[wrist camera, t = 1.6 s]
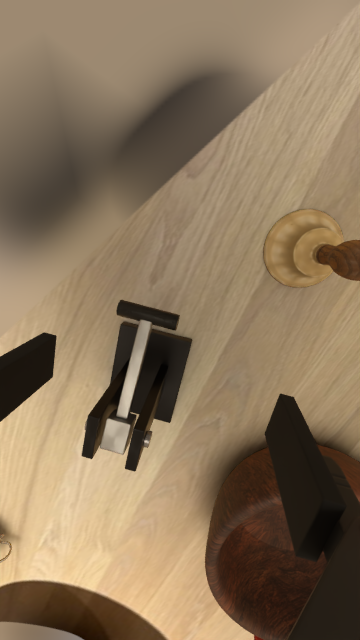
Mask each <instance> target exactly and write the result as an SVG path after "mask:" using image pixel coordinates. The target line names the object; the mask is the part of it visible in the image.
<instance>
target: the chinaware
mask: <svg viewBox="0 0 360 640" xmlns="http://www.w3.org/2000/svg"><path fill="white" fill-rule="evenodd" d="M3 536H4V534H0V539H2V538H3ZM0 543H3V544H8V545H9V546H10V551H9V553H8V555H7V556H6V557H5V558H3V559H2V560H0V563H1V562H3V561H4V560H6V559H7V558H8V556H9V555H10V553H11V550H12V545H11V543H10V542H7V541H5V542H2V541H0Z"/></svg>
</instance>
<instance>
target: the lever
mask: <svg viewBox="0 0 360 640" xmlns="http://www.w3.org/2000/svg"><path fill="white" fill-rule="evenodd" d="M117 315H119V316H122V317H126V318H130V319H134V320H137V321H140V322H139V326H138V330H137V334H136V338H135V342H134V346H133V350H132V354H131V358H130V362H129V366H128V369H127V373H126V377H125V381H124V385H123V389H122V393H121V397H120V401H119V405H118V409H115V410H114V411H113V412H112V413H111V414H110V416H109V417H108V418H107V421H106V425H105V429H104V433H103V437H102V441H101V445H100V448H101V449H105V450H108V451H112V452H115V453H119V454H122V455H123V454H124V452H125V450H126V448H127V447H128V445H129V443H130V439H131V435H132V431H133V427H134V424H135V420H136V415H135V414H131V413H130V412H131V408H132V404H133V400H134V396H135V392H136V389H137V385H138V381H139V377H140V373H141V369H142V365H143V361H144V357H145V353H146V349H147V346H148V342H149V338H150V334H151V330H152V326H153V325H156V326H160V327H164V328H168V329H171V330H176V329H177V325H178V322H179V317H180V315H177V314H174V313H170V312H166V311H162V310H158V309H154V308H151V307H147V306H143V305H139V304H135V303H132V302H128V301H124V300H120V302H119V303H118V306H117Z"/></svg>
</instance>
